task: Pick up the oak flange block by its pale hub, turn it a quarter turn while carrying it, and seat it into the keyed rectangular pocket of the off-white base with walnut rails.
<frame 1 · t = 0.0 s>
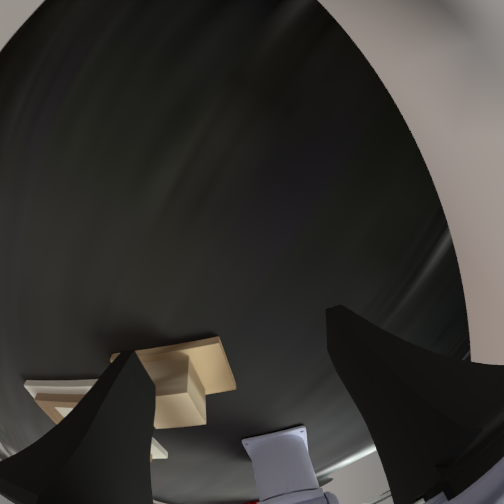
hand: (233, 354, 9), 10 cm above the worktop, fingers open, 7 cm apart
flange block: (174, 368, 23), on the worktop
keyed base: (96, 423, 24), on the worktop
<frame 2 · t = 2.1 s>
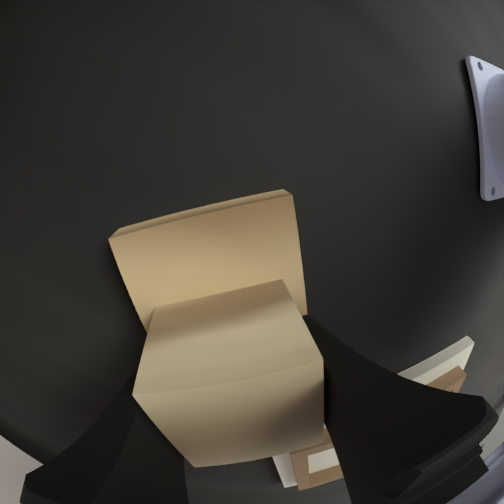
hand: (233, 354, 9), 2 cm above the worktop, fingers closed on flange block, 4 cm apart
flange block: (229, 324, 11), on the worktop, touching gripper
keyed base: (371, 426, 17), on the worktop
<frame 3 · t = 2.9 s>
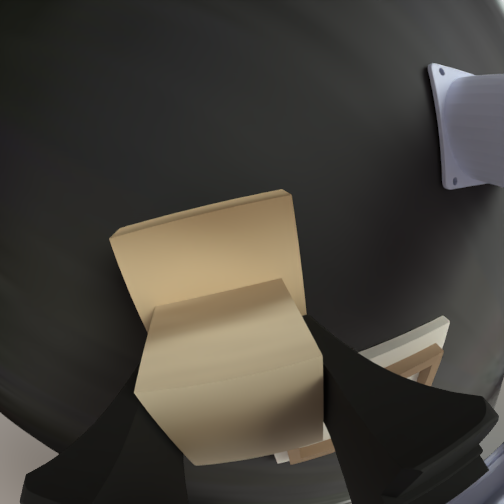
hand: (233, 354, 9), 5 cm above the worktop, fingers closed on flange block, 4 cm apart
flange block: (229, 323, 11), point 3 cm above the worktop, touching gripper
keyed base: (356, 401, 20), on the worktop
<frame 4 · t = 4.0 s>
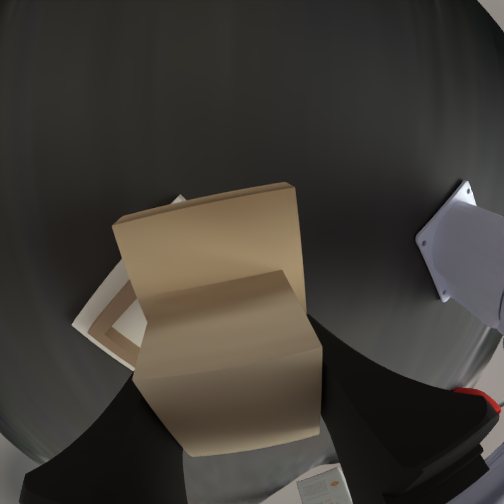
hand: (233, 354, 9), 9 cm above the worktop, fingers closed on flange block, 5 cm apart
flange block: (228, 315, 11), point 7 cm above the worktop, touching gripper
small box: (320, 476, 36), on the worktop
keyed base: (202, 334, 20), on the worktop
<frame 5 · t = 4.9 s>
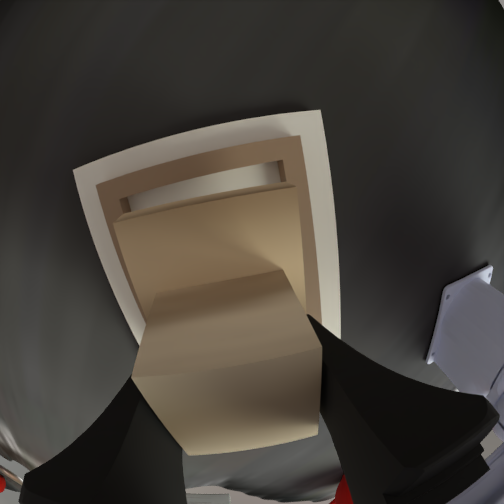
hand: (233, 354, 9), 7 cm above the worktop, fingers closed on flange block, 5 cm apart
flange block: (228, 314, 11), point 5 cm above the worktop, touching gripper
small box: (204, 497, 30), on the worktop
keyed base: (224, 273, 16), on the worktop
ceramic cup: (350, 473, 34), on the worktop
when the fingers open (4 cm above the worktop, at t = 5.9 s): flange block stays where it is, resting on keyed base.
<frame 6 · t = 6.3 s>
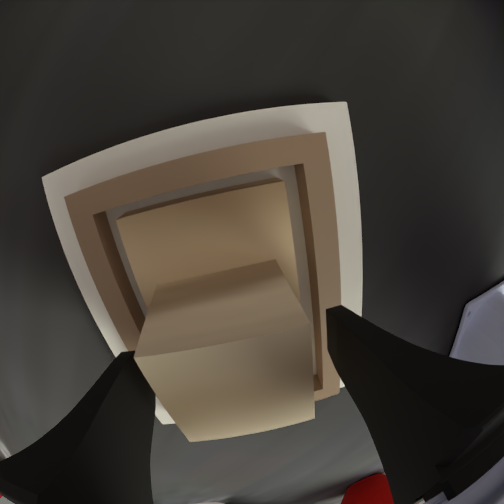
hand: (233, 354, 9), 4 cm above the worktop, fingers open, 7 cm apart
flange block: (226, 305, 12), point 1 cm above the worktop, touching keyed base
keyed base: (227, 300, 13), on the worktop
ceramic cup: (355, 486, 31), on the worktop
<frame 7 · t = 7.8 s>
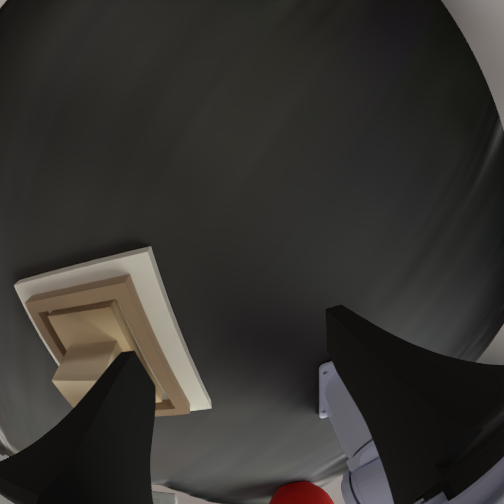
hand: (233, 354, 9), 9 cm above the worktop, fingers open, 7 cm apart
flange block: (108, 355, 19), point 1 cm above the worktop, touching keyed base
small box: (157, 494, 34), on the worktop
keyed base: (113, 350, 20), on the worktop
ceramic cup: (285, 489, 38), on the worktop
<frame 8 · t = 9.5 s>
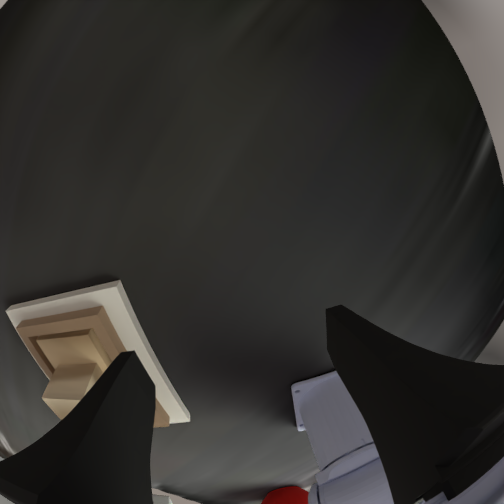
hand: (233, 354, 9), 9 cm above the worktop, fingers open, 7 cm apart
flange block: (92, 373, 19), point 1 cm above the worktop, touching keyed base
small box: (152, 496, 35), on the worktop
keyed base: (97, 368, 20), on the worktop
ceramic cup: (276, 493, 38), on the worktop
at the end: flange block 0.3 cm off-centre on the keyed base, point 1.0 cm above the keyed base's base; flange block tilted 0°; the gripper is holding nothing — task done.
